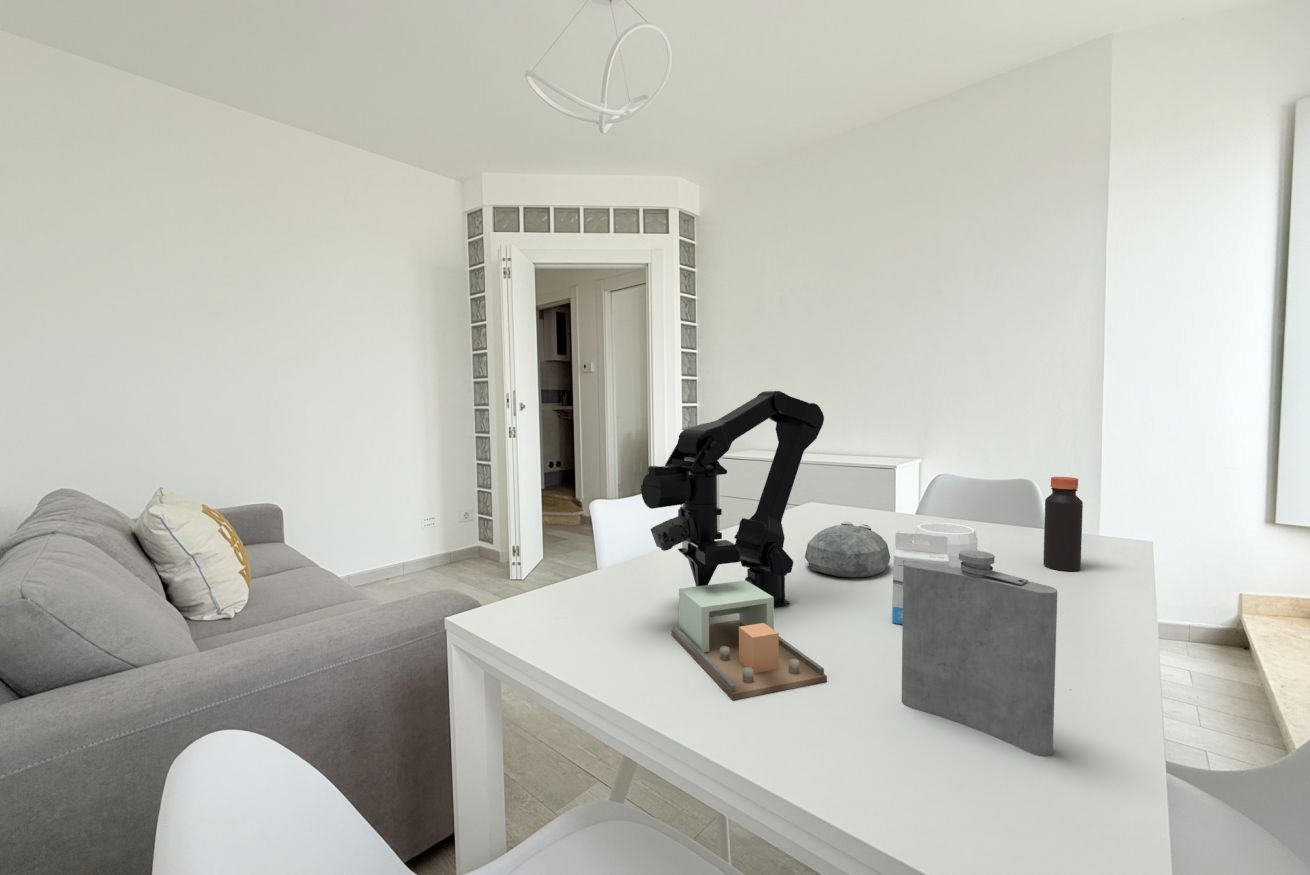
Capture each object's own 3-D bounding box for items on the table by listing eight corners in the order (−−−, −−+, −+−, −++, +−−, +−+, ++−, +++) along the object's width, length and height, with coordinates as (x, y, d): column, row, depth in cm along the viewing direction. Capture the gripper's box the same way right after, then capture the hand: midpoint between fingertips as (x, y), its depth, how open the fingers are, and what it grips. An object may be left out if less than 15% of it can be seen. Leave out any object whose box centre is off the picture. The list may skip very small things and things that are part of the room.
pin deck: (748, 623, 98) (748, 609, 98) (826, 681, 77) (826, 664, 77) (671, 634, 93) (671, 620, 93) (732, 700, 72) (732, 682, 72)
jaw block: (778, 668, 79) (778, 633, 79) (752, 673, 78) (752, 637, 77) (763, 656, 83) (763, 622, 83) (739, 661, 82) (738, 626, 81)
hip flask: (897, 702, 71) (899, 544, 70) (911, 691, 74) (913, 538, 73) (1048, 760, 60) (1053, 570, 59) (1058, 743, 62) (1063, 563, 61)
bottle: (1039, 567, 127) (1042, 478, 126) (1047, 561, 132) (1050, 475, 131) (1076, 574, 123) (1079, 480, 121) (1084, 567, 127) (1086, 477, 126)
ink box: (891, 624, 97) (892, 537, 96) (892, 614, 101) (893, 531, 100) (948, 632, 93) (950, 542, 92) (947, 621, 97) (948, 535, 96)
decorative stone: (787, 569, 130) (787, 525, 129) (839, 553, 143) (839, 513, 142) (857, 587, 116) (858, 538, 115) (908, 568, 129) (909, 524, 128)
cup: (989, 580, 119) (990, 534, 119) (929, 580, 119) (930, 534, 119) (958, 563, 132) (959, 521, 131) (904, 564, 132) (905, 522, 131)
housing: (745, 620, 96) (745, 580, 96) (773, 640, 88) (773, 597, 87) (679, 630, 92) (678, 588, 92) (701, 652, 84) (701, 607, 84)
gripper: (639, 496, 104) (640, 581, 105) (675, 515, 87) (677, 616, 87) (695, 493, 108) (696, 574, 109) (742, 510, 90) (742, 607, 91)
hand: (701, 591), depth 99 cm, fingers closed
